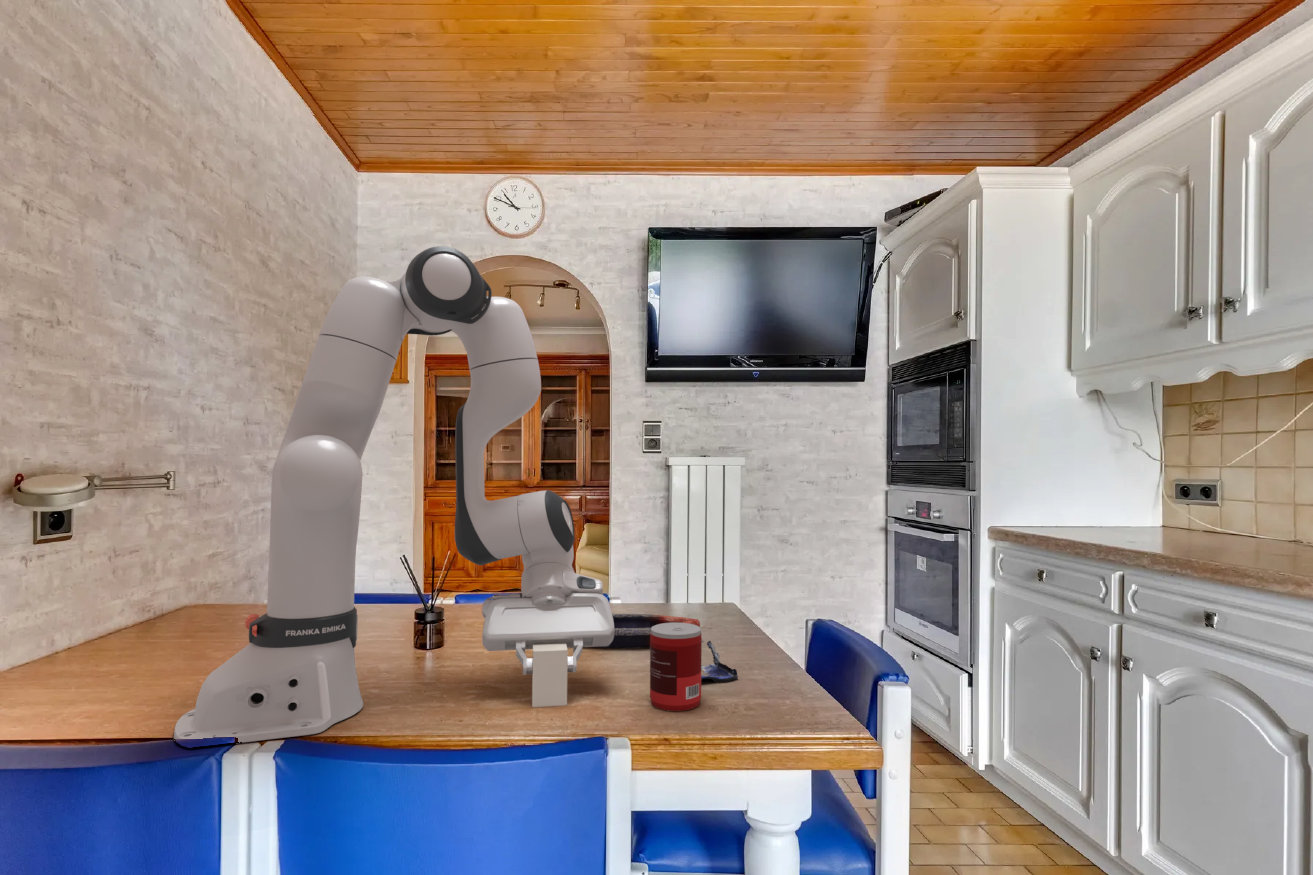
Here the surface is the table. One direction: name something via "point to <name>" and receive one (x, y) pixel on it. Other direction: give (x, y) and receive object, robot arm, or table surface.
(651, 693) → the canned food
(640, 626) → the dish
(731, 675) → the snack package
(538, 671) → the block
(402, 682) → the table surface
